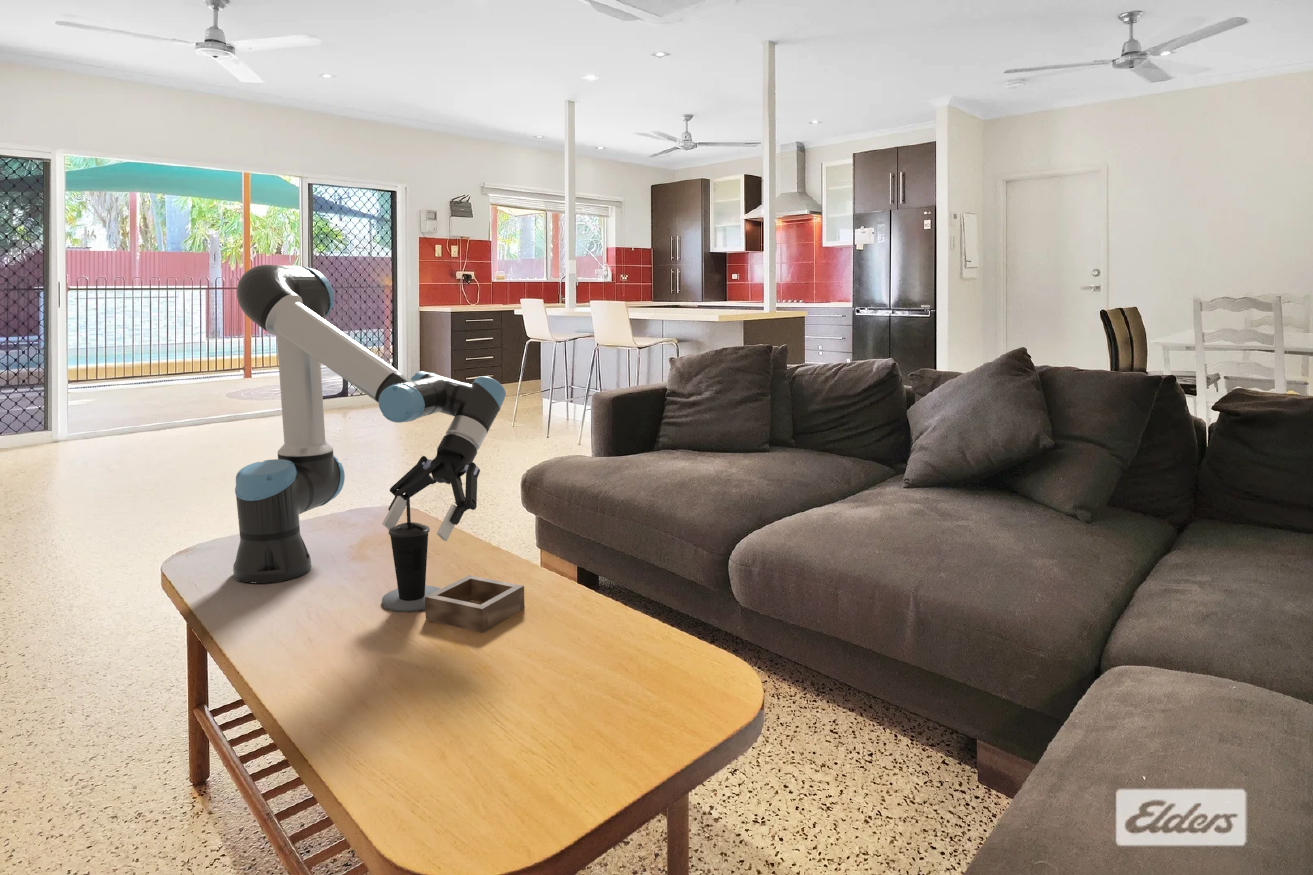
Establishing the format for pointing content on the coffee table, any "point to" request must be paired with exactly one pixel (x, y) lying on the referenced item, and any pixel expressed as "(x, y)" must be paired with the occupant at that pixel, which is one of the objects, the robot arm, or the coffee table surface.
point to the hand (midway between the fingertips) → (413, 532)
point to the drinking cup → (410, 557)
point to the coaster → (396, 604)
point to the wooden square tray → (459, 612)
